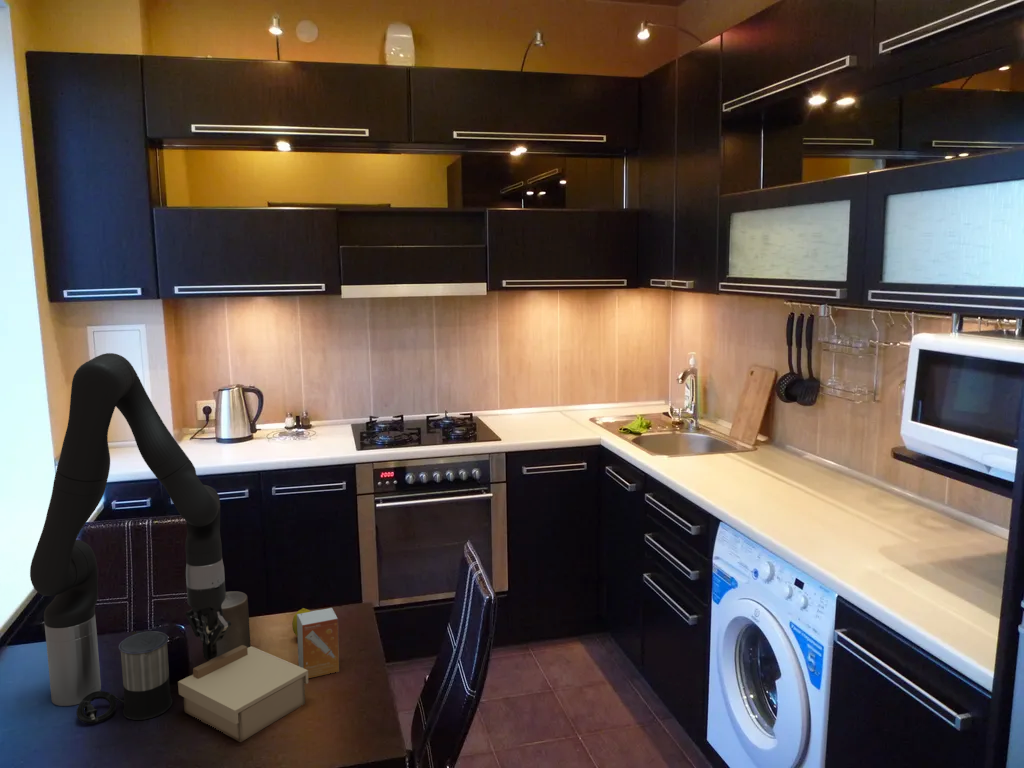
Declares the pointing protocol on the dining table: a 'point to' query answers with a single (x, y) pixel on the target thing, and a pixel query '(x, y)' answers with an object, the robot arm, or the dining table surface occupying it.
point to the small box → (318, 642)
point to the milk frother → (137, 680)
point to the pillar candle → (235, 622)
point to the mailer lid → (238, 680)
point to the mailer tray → (253, 712)
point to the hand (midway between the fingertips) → (210, 657)
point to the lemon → (294, 623)
